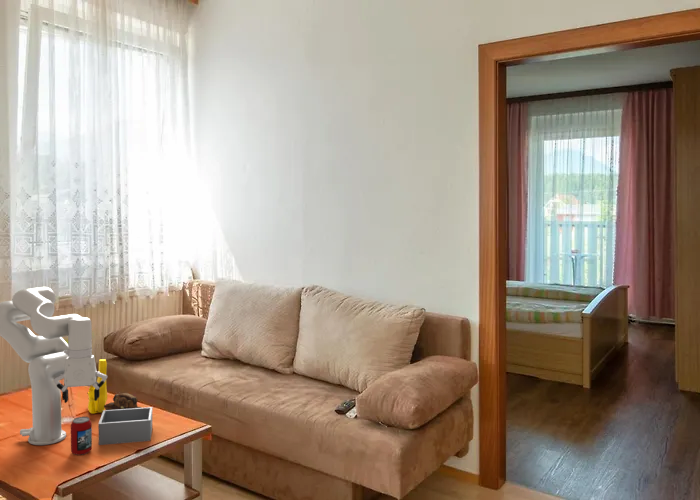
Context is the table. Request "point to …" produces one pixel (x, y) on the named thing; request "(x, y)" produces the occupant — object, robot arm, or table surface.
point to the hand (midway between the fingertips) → (81, 400)
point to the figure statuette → (101, 401)
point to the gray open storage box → (125, 426)
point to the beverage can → (81, 435)
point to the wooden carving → (122, 402)
